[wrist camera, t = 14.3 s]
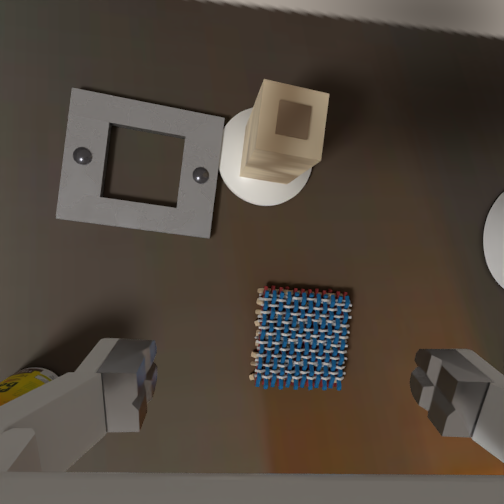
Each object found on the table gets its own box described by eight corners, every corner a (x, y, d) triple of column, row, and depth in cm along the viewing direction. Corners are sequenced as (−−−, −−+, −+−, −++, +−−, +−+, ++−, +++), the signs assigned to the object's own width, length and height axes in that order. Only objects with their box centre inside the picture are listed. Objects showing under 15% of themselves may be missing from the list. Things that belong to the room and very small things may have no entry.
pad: (308, 110, 32) (310, 107, 32) (312, 204, 33) (314, 204, 32) (214, 107, 31) (214, 105, 30) (219, 207, 31) (219, 206, 30)
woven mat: (347, 289, 34) (356, 292, 32) (338, 383, 34) (347, 392, 32) (256, 282, 32) (260, 284, 30) (246, 381, 32) (250, 390, 30)
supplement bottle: (44, 353, 29) (-41, 411, 18) (80, 399, 29) (16, 480, 19) (-11, 388, 28) (-132, 470, 18) (26, 435, 28) (-69, 540, 18)
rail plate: (224, 121, 31) (224, 117, 30) (209, 238, 31) (209, 238, 30) (75, 91, 28) (71, 86, 28) (59, 219, 28) (55, 218, 28)
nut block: (293, 136, 31) (330, 92, 22) (286, 184, 31) (322, 159, 22) (245, 127, 31) (264, 77, 22) (239, 176, 31) (255, 147, 22)
